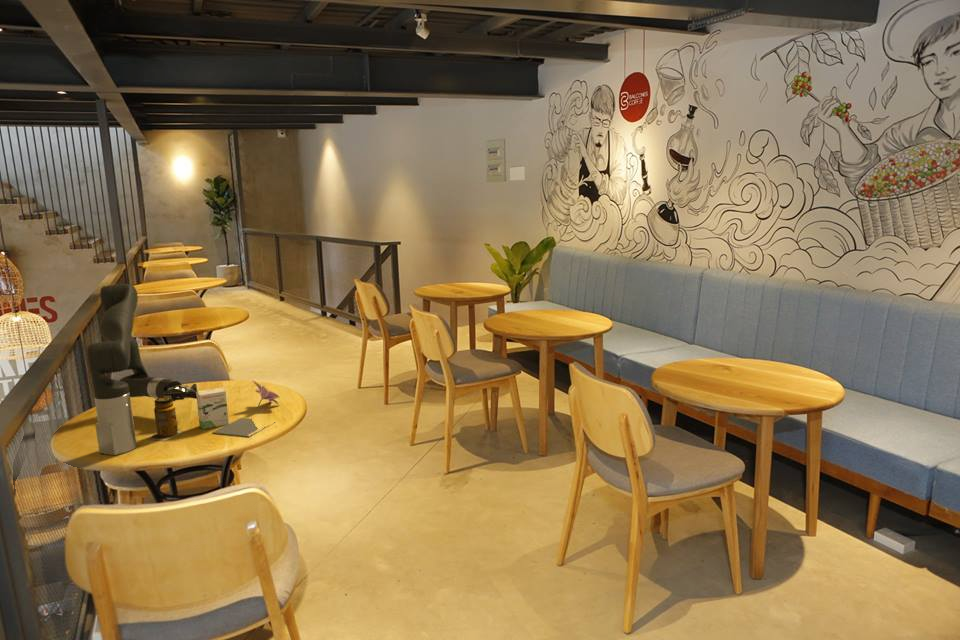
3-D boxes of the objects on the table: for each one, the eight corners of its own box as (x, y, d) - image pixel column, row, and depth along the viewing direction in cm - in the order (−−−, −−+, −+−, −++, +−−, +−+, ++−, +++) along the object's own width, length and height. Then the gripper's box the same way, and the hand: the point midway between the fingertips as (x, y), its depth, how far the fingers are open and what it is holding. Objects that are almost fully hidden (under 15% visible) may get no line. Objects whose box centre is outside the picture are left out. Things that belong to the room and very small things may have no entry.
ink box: (202, 429, 214) (198, 395, 211) (199, 425, 218) (195, 391, 216) (229, 424, 218) (226, 390, 216) (226, 420, 222) (222, 386, 220)
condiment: (184, 431, 213) (179, 396, 210) (165, 441, 205) (160, 404, 202) (165, 430, 215) (160, 394, 212) (146, 439, 207) (141, 403, 204)
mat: (249, 437, 206) (249, 435, 206) (212, 433, 210) (212, 432, 210) (276, 422, 219) (275, 420, 219) (240, 418, 223) (240, 417, 223)
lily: (280, 414, 230) (288, 387, 233) (246, 406, 225) (254, 379, 228) (274, 415, 241) (281, 389, 243) (241, 407, 236) (249, 381, 238)
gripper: (145, 384, 221) (180, 389, 213) (179, 374, 232) (213, 379, 224) (148, 405, 222) (183, 412, 214) (182, 394, 233) (216, 400, 225)
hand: (198, 395), depth 219 cm, fingers closed
